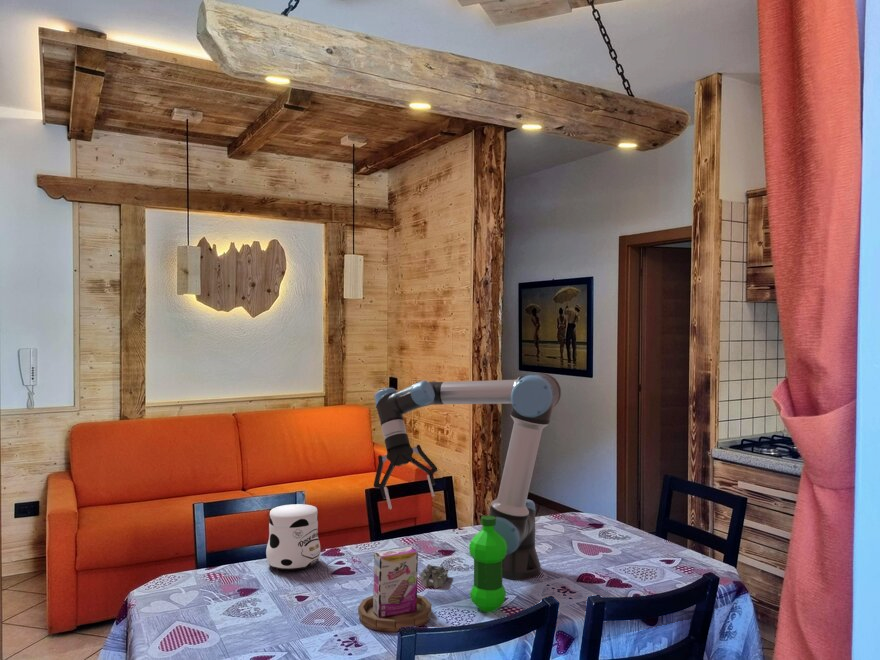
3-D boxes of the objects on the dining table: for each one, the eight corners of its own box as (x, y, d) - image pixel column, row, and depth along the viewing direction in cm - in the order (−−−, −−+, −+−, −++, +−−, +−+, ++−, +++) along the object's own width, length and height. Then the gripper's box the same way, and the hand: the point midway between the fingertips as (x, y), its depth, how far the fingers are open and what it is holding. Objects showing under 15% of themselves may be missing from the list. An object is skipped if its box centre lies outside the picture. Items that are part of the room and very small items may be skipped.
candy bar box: (379, 620, 174) (379, 557, 174) (372, 612, 179) (372, 551, 179) (418, 612, 179) (418, 551, 179) (410, 605, 184) (410, 545, 184)
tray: (436, 604, 187) (436, 594, 187) (422, 635, 168) (422, 623, 168) (370, 599, 190) (370, 589, 190) (349, 628, 171) (350, 617, 171)
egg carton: (441, 590, 198) (441, 576, 198) (417, 587, 200) (417, 573, 200) (450, 577, 208) (450, 564, 208) (427, 574, 211) (428, 561, 211)
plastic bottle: (479, 597, 192) (479, 510, 192) (513, 605, 186) (513, 516, 186) (462, 610, 183) (463, 519, 183) (497, 618, 178) (497, 524, 178)
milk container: (321, 572, 211) (321, 515, 211) (265, 576, 208) (265, 518, 208) (319, 554, 228) (319, 502, 228) (267, 558, 225) (267, 504, 225)
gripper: (434, 428, 216) (451, 493, 208) (359, 449, 215) (373, 514, 207) (432, 423, 209) (450, 489, 201) (355, 444, 208) (370, 512, 200)
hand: (411, 502), depth 204 cm, fingers open, 13 cm apart
